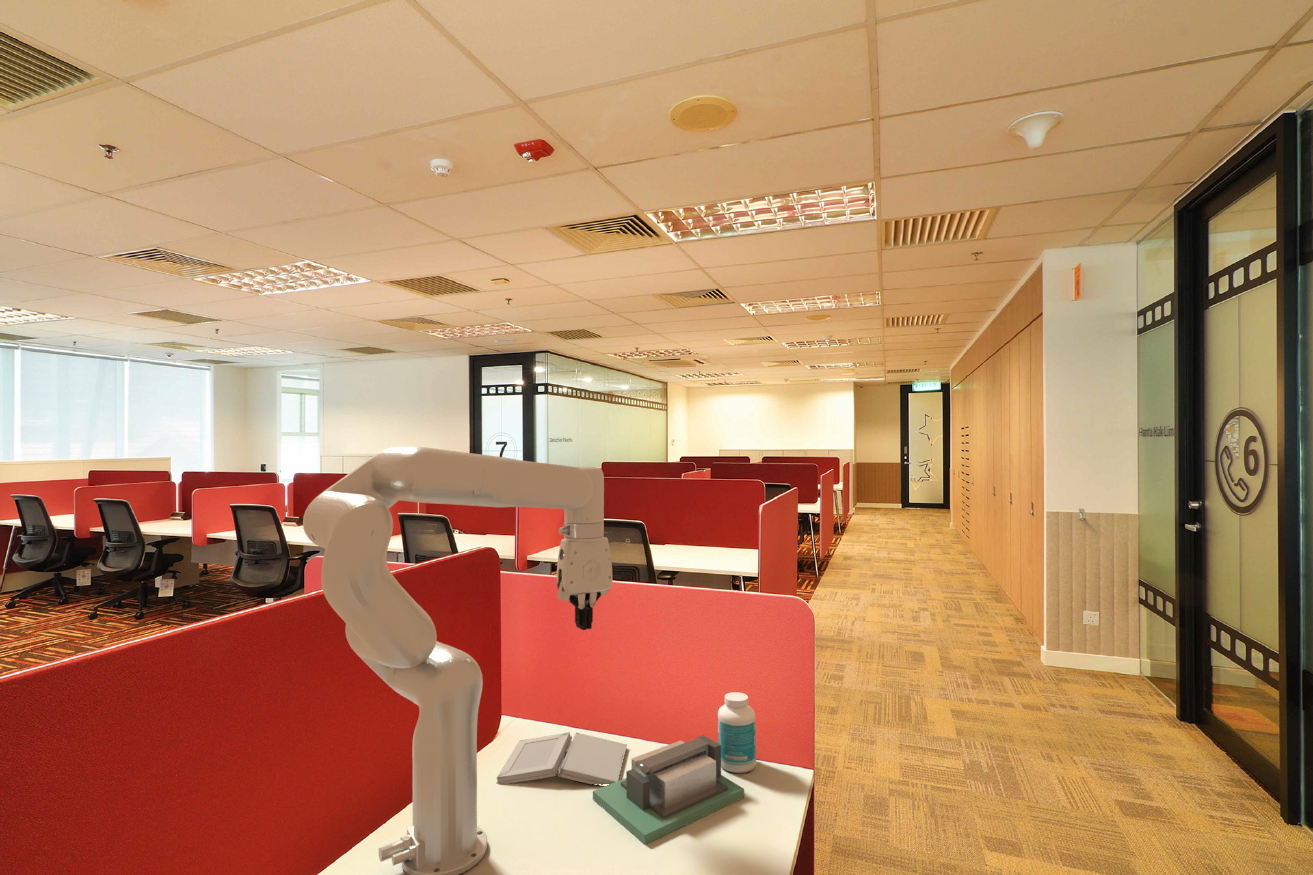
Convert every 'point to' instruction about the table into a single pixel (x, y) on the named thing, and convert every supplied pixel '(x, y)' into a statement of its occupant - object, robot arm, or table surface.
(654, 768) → the strap
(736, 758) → the pill bottle
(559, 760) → the gadget
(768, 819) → the table surface
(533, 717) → the table surface
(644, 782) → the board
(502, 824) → the table surface
